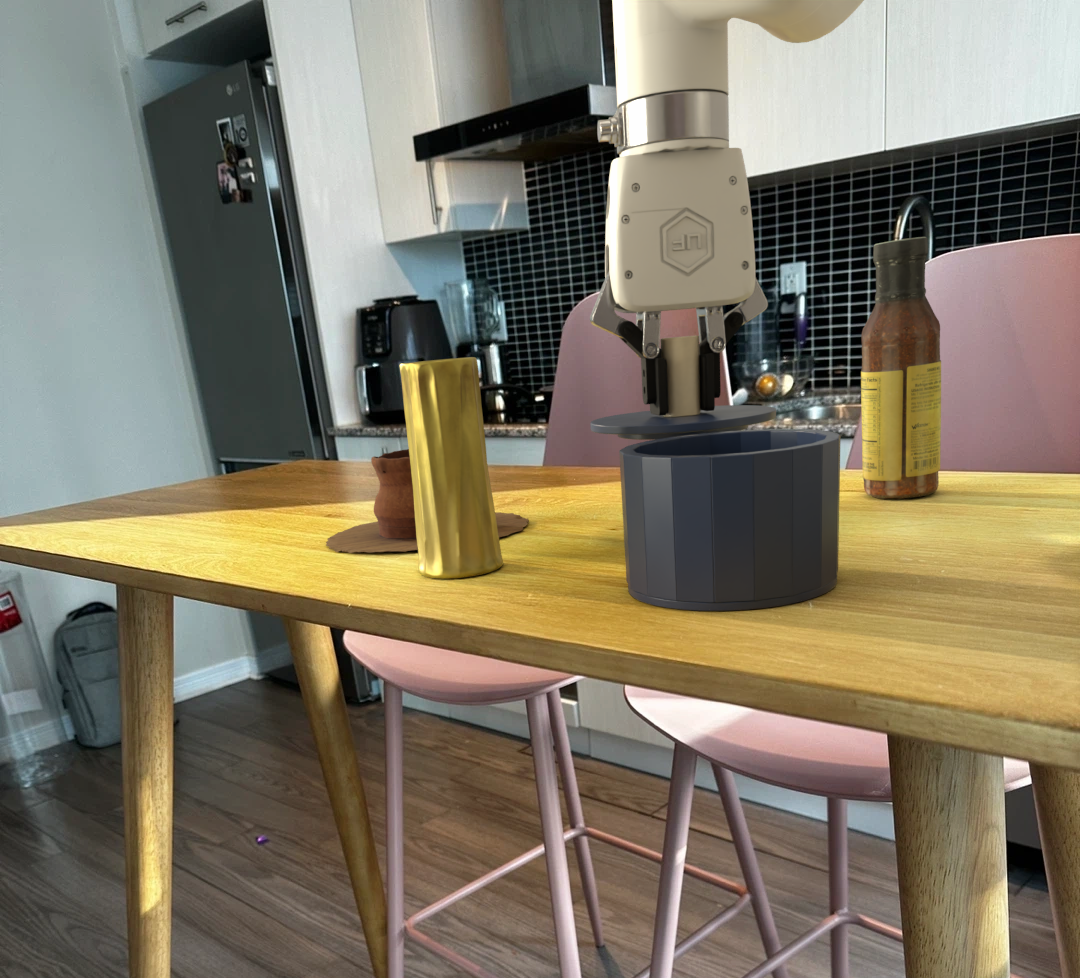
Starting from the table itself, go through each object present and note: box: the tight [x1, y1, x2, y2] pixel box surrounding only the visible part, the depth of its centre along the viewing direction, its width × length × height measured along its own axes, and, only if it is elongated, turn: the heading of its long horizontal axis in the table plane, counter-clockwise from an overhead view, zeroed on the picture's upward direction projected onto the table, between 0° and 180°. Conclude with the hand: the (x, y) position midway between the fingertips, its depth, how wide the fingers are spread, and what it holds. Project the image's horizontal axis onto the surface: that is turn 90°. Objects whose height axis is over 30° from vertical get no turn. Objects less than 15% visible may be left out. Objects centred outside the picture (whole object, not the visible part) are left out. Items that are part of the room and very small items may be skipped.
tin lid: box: [590, 335, 777, 441], centre depth 76 cm, size 14×14×7 cm
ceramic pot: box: [325, 448, 530, 554], centre depth 88 cm, size 18×18×7 cm
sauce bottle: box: [860, 236, 942, 500], centre depth 84 cm, size 6×6×20 cm
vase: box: [399, 356, 504, 580], centre depth 71 cm, size 6×6×14 cm
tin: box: [618, 428, 841, 612], centre depth 62 cm, size 13×13×8 cm
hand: (681, 409), depth 77 cm, fingers closed on tin lid, 2 cm apart
